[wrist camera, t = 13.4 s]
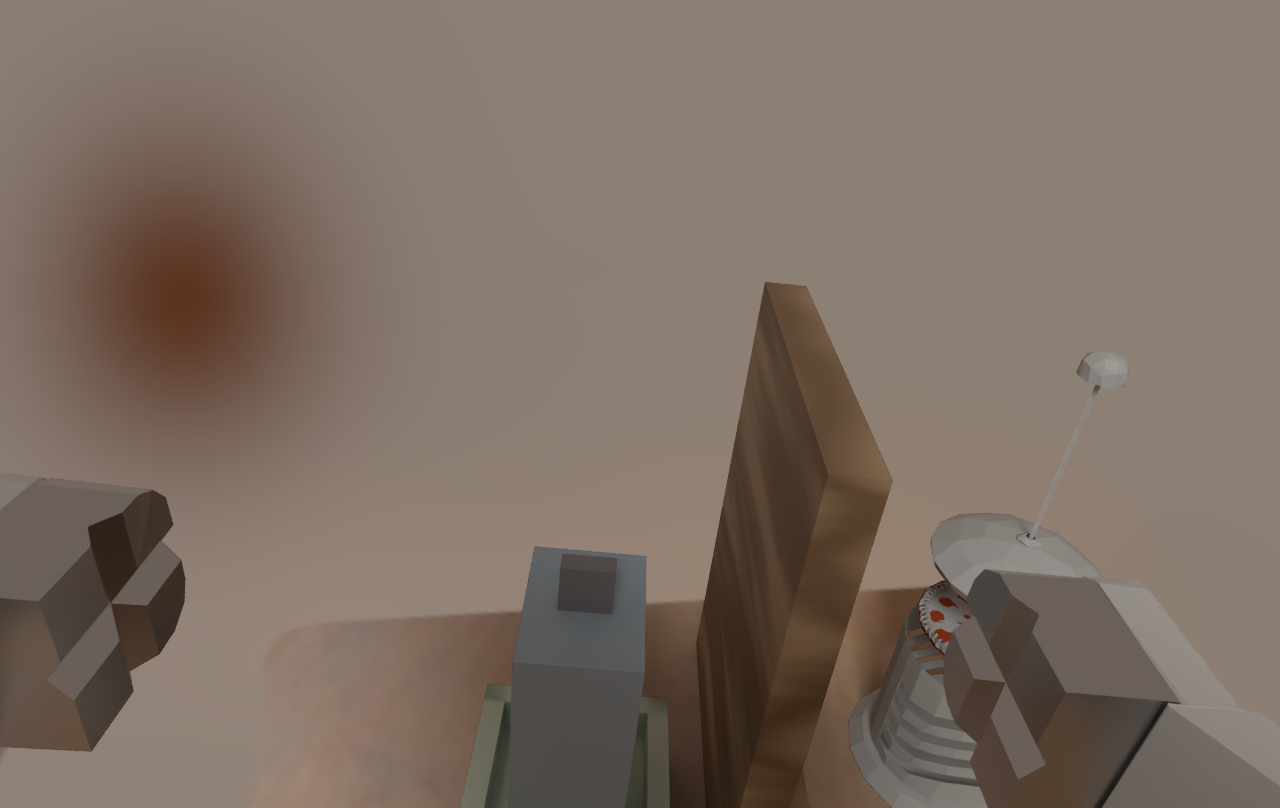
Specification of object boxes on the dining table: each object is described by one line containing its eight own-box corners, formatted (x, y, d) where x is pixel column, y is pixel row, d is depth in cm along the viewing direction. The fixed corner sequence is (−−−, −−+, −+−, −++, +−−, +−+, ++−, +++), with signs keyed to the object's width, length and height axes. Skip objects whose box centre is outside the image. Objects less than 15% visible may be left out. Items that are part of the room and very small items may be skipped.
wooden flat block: (712, 910, 36) (828, 474, 25) (696, 643, 50) (765, 281, 38) (822, 918, 37) (989, 489, 25) (775, 650, 51) (868, 292, 39)
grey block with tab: (505, 882, 34) (513, 618, 26) (524, 756, 39) (536, 506, 31) (612, 889, 34) (651, 630, 26) (617, 763, 39) (651, 516, 32)
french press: (861, 661, 50) (987, 287, 38) (1060, 733, 47) (1268, 349, 35) (833, 790, 42) (981, 369, 30) (1070, 887, 39) (1345, 459, 27)
